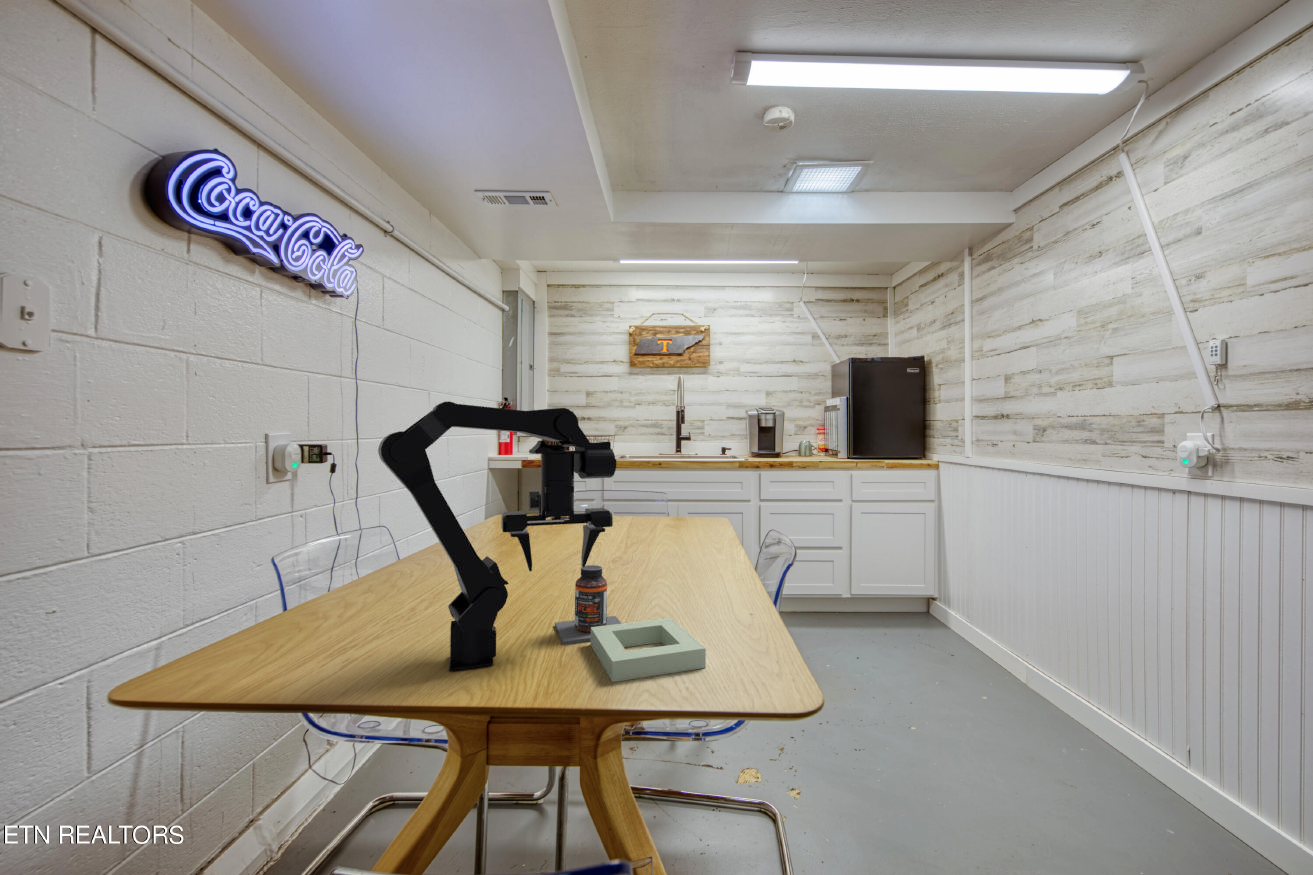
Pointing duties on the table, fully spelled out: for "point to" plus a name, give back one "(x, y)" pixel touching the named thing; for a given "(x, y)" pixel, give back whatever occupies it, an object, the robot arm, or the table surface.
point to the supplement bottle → (590, 599)
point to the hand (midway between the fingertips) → (557, 568)
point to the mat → (573, 635)
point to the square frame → (646, 649)
